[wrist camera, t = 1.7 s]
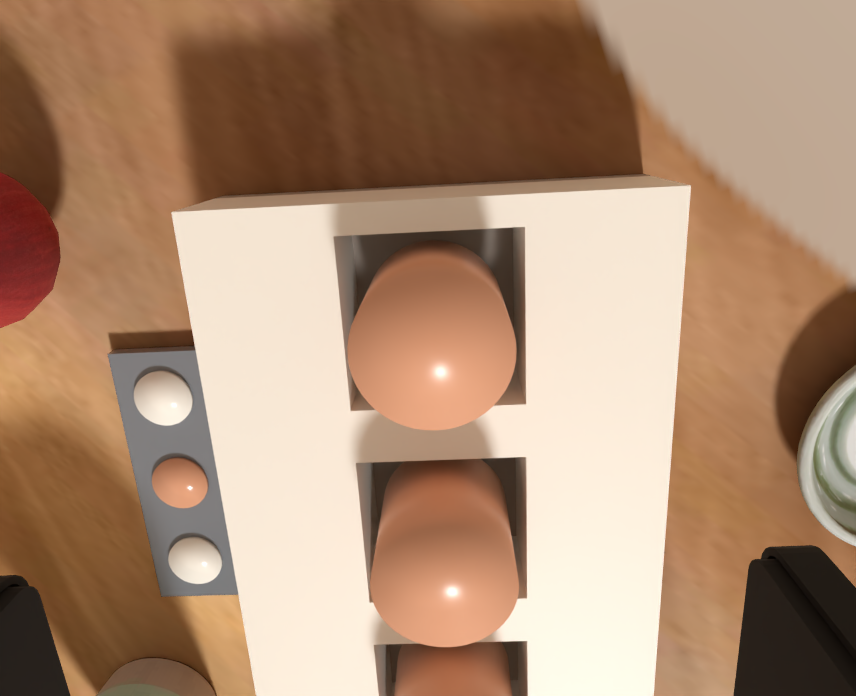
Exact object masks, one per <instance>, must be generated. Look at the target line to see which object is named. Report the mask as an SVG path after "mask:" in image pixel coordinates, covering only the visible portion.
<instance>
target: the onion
mask: <svg viewBox="0 0 856 696" xmlns="http://www.w3.org/2000/svg"><path fill="white" fill-rule="evenodd" d="M59 263H60V247H59V236H58V231H57V229H56V227H55V225H54V223H53V221H52V219H51V217H50V215H49V213H48V211H47V209H46V208H45V207H44V206H43V205H42V204H41V203H40V202H39V201H38V200H37V199H36V198H35V197H34V196H33V195H32V193H31V192H30V191H29V190H28V189H27V188H26V187H24V186H23V185H22V184H20V183H19V182H18V181H16V180H15V179H13V178H11V177H9V176H7V175H5V174H3V173H1V172H0V328H2V327H4V326H7V325H9V324H12V323H14V322H17V321H20V320H22V319H24V318H25V317H26V316H27V315H28V314H29V313H30V312H32V311H33V310H34V309H35V308H36V307H37V305H38V304H39V303H40V302H41V301H42V300H43V299H44V298H45V297H46V296H47V295H48V294H49V293H50V292H51V291H52V289H53V287H54V283H55V279H56V275H57V271H58V267H59Z"/></svg>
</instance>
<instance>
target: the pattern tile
mask: <svg viewBox="0 0 856 696" xmlns="http://www.w3.org/2000/svg"><path fill="white" fill-rule="evenodd" d="M108 358H109V362H110V367H111V371H112V376H113V380H114V385H115V389H116V394H117V398H118V403H119V407H120V412H121V417H122V421H123V426H124V430H125V435H126V439H127V444H128V448H129V453H130V457H131V462H132V466H133V471H134V475H135V480H136V484H137V489H138V493H139V498H140V502H141V507H142V511H143V516H144V521H145V525H146V530H147V534H148V539H149V543H150V548H151V552H152V557H153V561H154V566H155V570H156V575H157V579H158V584H159V588H160V593H161V597H165V596H201V595H238V589H237V583H236V578H235V572H234V566H233V560H232V555H231V549H230V543H229V538H228V532H227V526H226V521H225V515H224V509H223V503H222V498H221V492H220V486H219V481H218V475H217V469H216V464H215V458H214V452H213V446H212V441H211V435H210V429H209V424H208V418H207V412H206V407H205V401H204V395H203V389H202V384H201V378H200V372H199V367H198V361H197V355H196V350H195V346H182V347H159V348H135V349H115V350H113V351H112V352H110V353H109V354H108Z"/></svg>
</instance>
